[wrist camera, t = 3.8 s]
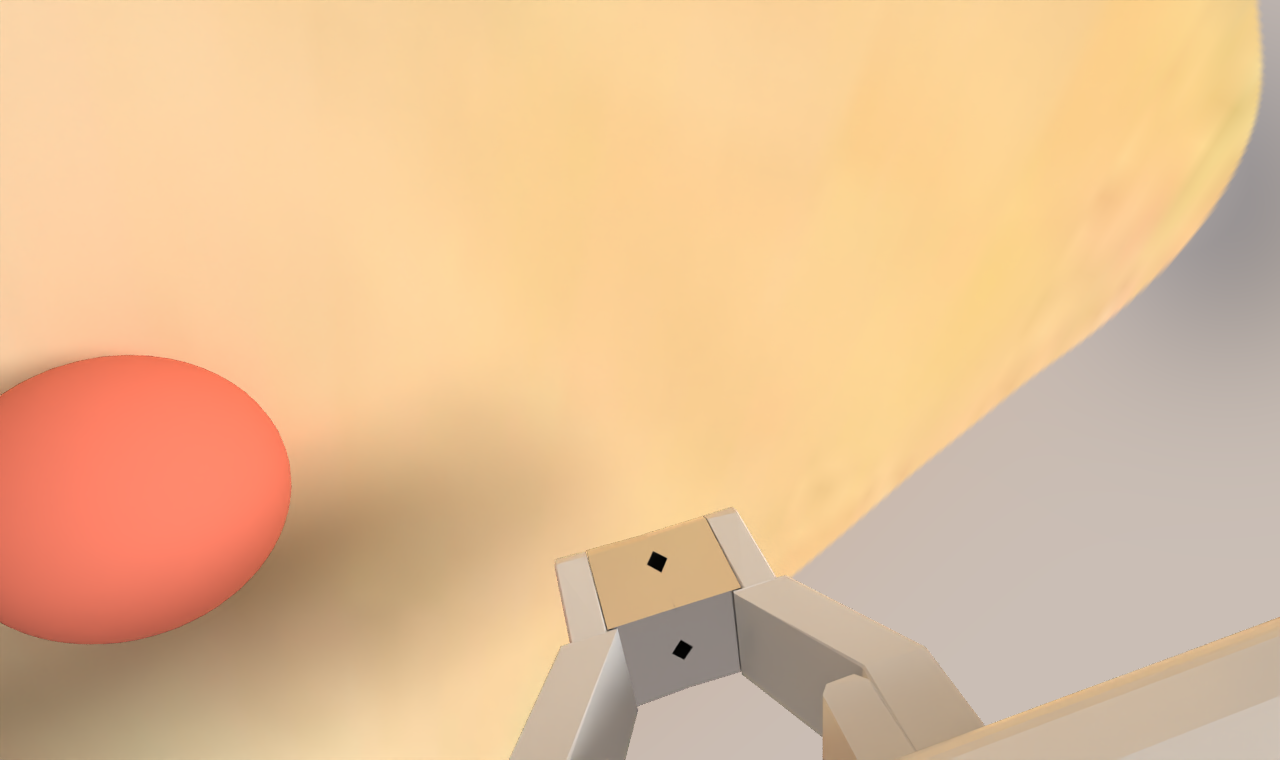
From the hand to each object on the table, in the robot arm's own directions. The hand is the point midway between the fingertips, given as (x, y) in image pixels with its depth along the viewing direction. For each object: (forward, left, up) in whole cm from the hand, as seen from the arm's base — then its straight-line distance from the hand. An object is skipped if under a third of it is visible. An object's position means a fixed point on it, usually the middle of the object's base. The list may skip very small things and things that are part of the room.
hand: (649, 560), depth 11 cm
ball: (-10, 0, -6) cm, 12 cm away
